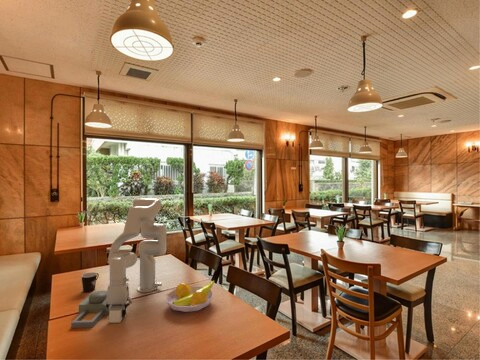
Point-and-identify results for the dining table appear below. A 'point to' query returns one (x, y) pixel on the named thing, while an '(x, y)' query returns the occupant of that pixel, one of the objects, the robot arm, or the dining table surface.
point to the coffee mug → (89, 281)
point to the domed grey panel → (91, 310)
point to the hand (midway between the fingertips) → (117, 316)
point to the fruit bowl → (189, 297)
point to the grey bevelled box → (115, 313)
